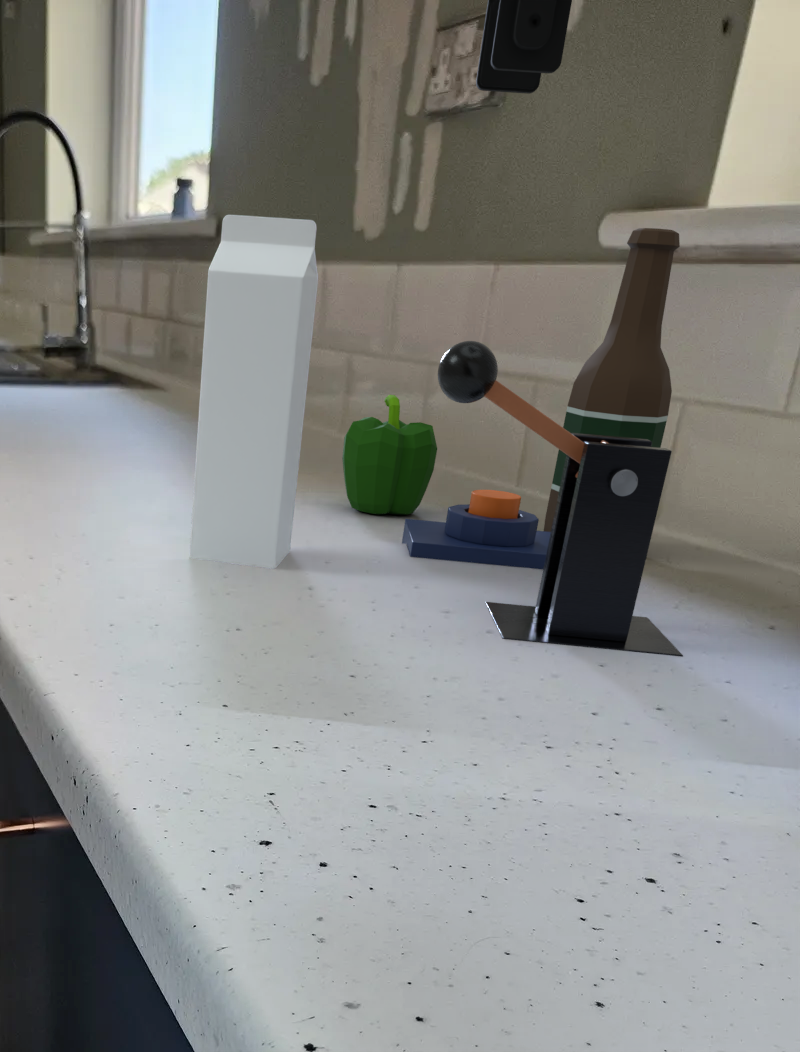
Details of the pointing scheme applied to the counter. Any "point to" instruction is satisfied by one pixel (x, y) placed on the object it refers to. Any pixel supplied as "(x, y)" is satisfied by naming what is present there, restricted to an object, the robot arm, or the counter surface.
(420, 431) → the bell pepper
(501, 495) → the button
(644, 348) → the beer bottle
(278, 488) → the milk
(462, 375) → the lever
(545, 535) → the control block
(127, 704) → the counter surface
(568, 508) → the bracket
